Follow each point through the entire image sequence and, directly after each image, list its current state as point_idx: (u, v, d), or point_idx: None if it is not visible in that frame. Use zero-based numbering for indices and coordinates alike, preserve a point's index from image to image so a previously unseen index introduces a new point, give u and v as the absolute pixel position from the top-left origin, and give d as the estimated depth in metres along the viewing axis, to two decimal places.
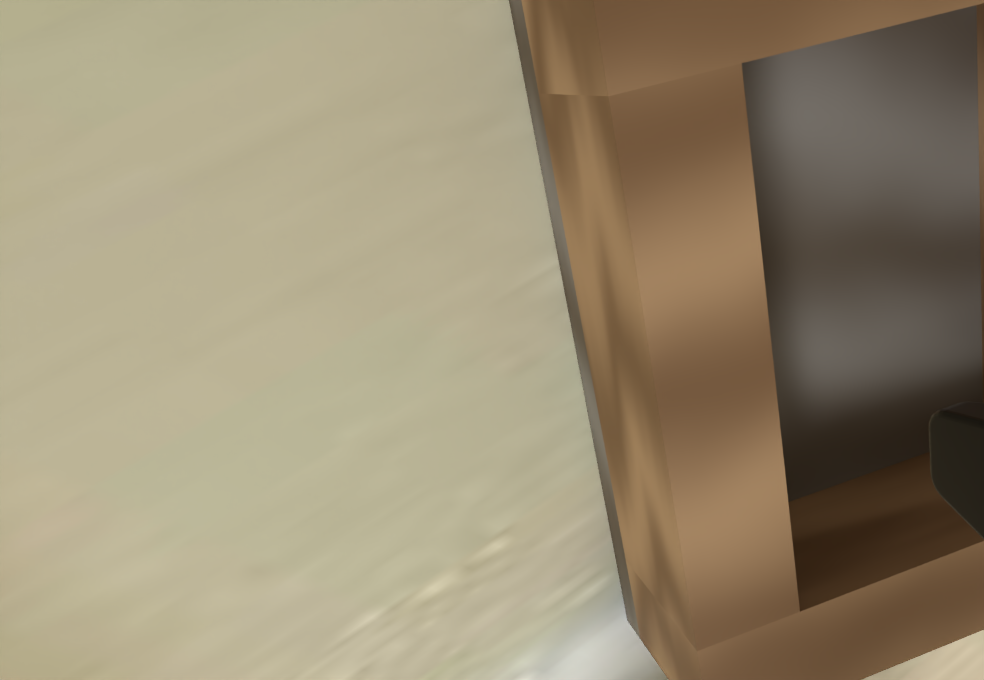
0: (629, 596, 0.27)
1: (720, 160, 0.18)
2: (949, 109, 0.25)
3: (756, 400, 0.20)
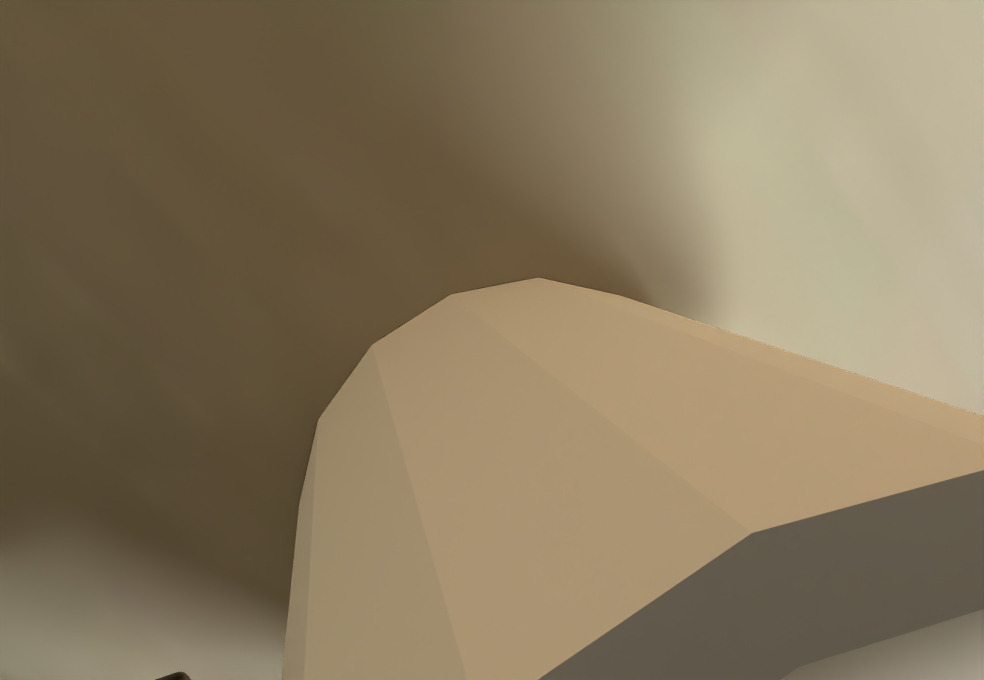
0: None
1: None
2: None
3: None
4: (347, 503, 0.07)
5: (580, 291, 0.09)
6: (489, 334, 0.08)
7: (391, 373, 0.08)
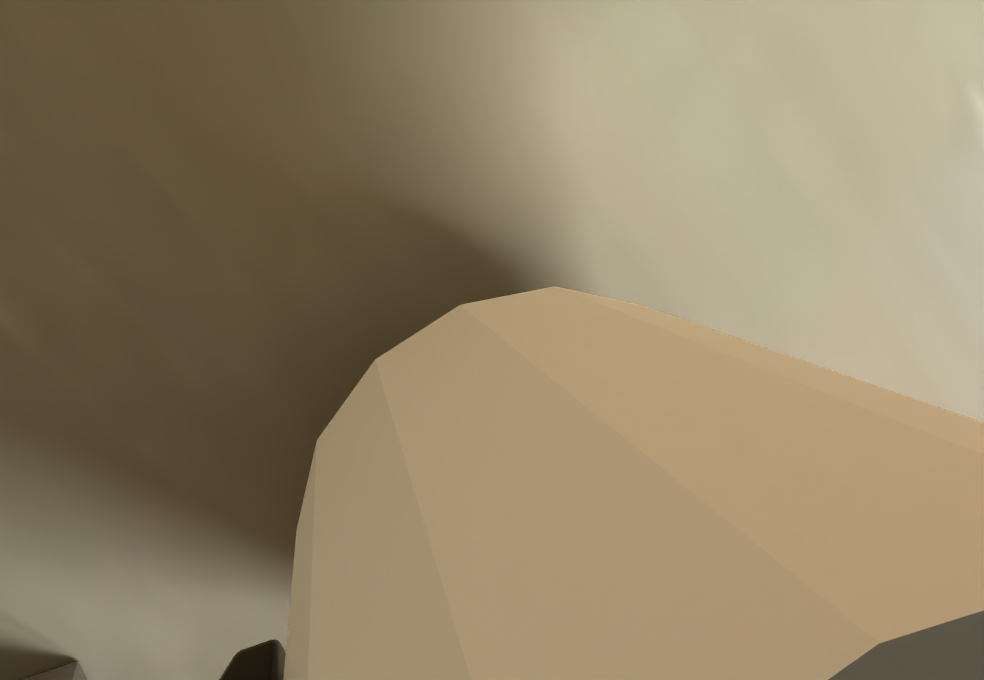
0: None
1: None
2: None
3: None
4: (352, 547, 0.06)
5: (603, 302, 0.09)
6: (508, 353, 0.07)
7: (398, 394, 0.08)
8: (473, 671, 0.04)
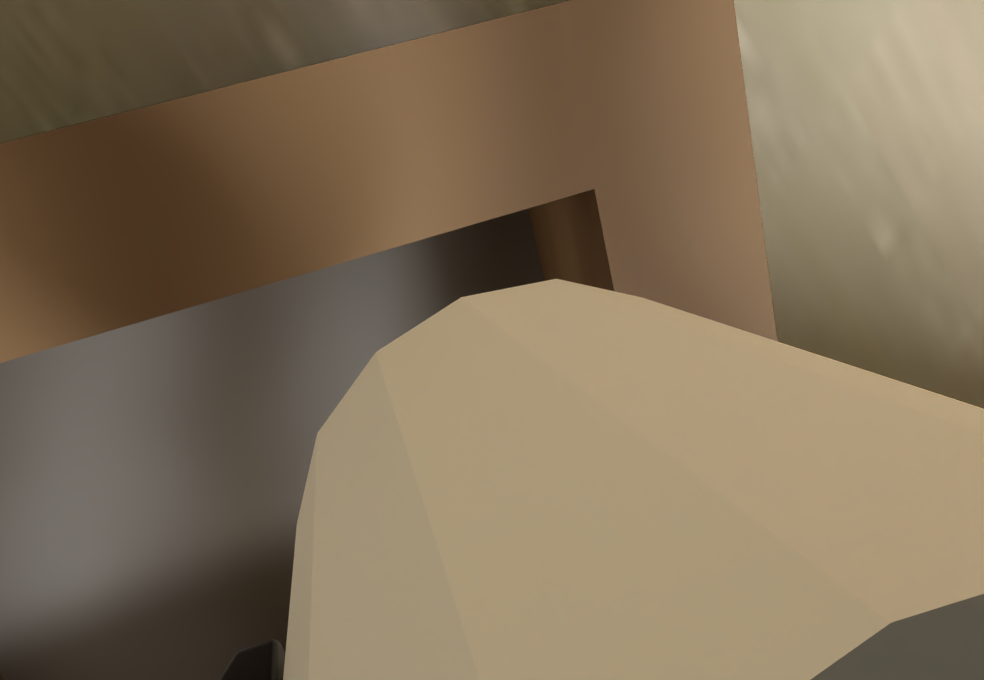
0: None
1: None
2: (22, 357, 0.17)
3: None
4: (353, 537, 0.06)
5: (605, 294, 0.09)
6: (510, 344, 0.07)
7: (399, 385, 0.08)
8: (478, 657, 0.04)
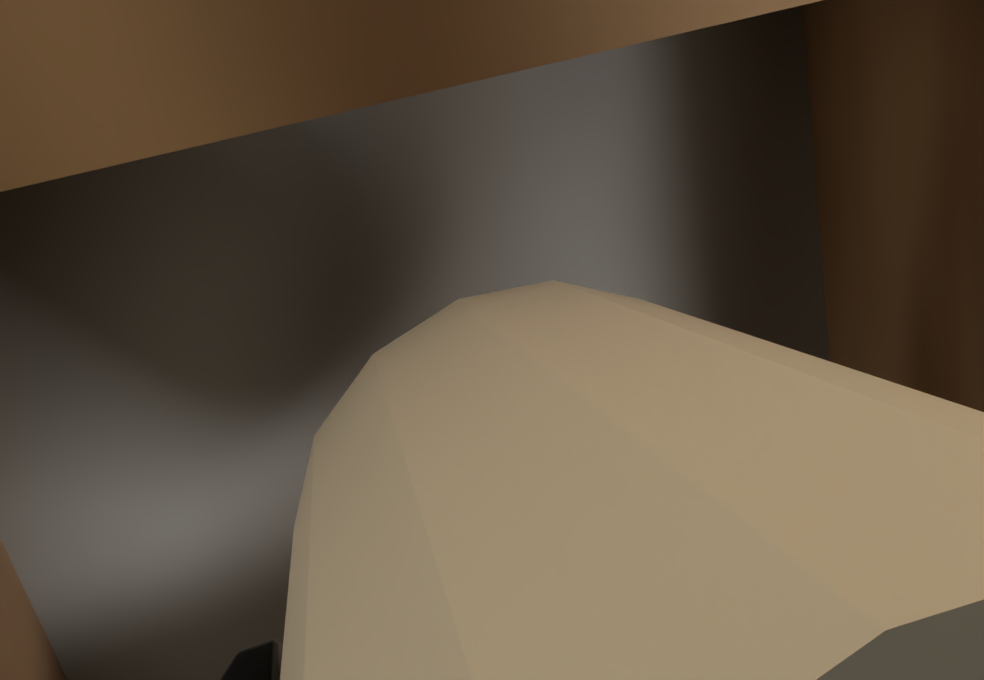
0: None
1: None
2: (122, 221, 0.12)
3: None
4: (349, 540, 0.06)
5: (602, 296, 0.08)
6: (507, 346, 0.07)
7: (396, 388, 0.08)
8: (471, 663, 0.04)
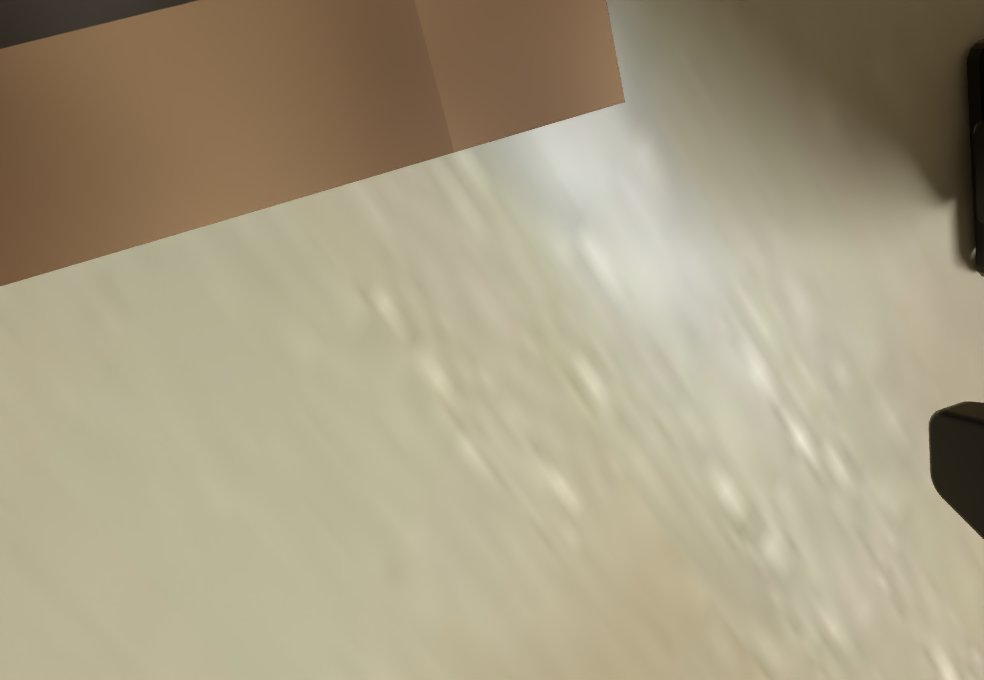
0: None
1: None
2: None
3: None
4: None
5: None
6: None
7: None
8: None
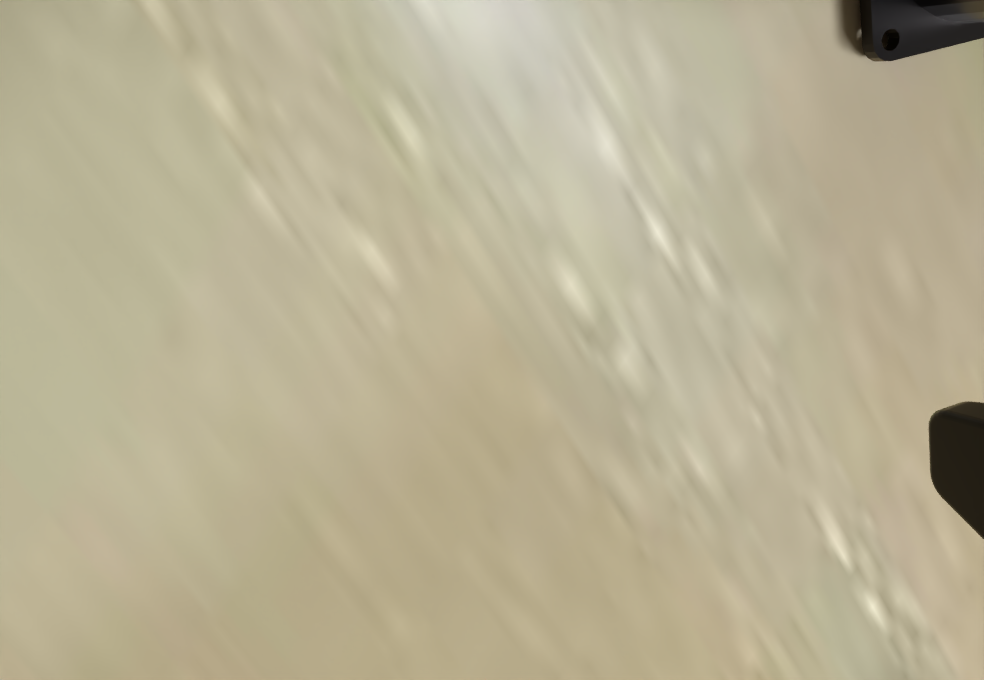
0: None
1: None
2: None
3: None
4: None
5: None
6: None
7: None
8: None
